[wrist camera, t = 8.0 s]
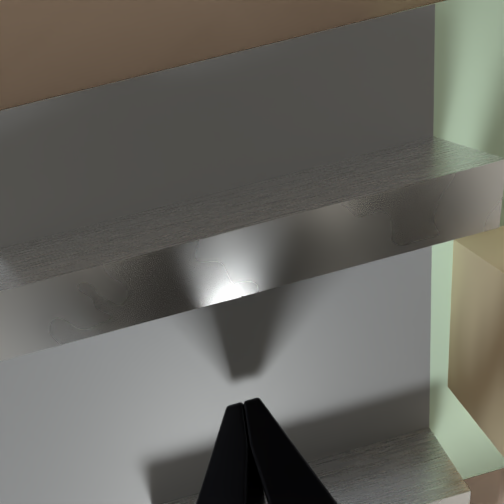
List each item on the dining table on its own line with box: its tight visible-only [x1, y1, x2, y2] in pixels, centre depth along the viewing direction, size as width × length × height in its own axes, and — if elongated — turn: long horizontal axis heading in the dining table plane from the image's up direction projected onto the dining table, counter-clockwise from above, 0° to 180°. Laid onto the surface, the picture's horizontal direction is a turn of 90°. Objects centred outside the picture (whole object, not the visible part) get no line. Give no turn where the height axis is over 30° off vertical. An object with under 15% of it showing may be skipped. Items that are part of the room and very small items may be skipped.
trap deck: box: [0, 0, 504, 504], centre depth 11 cm, size 15×32×2 cm, turn 102°
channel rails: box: [0, 136, 504, 504], centre depth 9 cm, size 10×9×2 cm
